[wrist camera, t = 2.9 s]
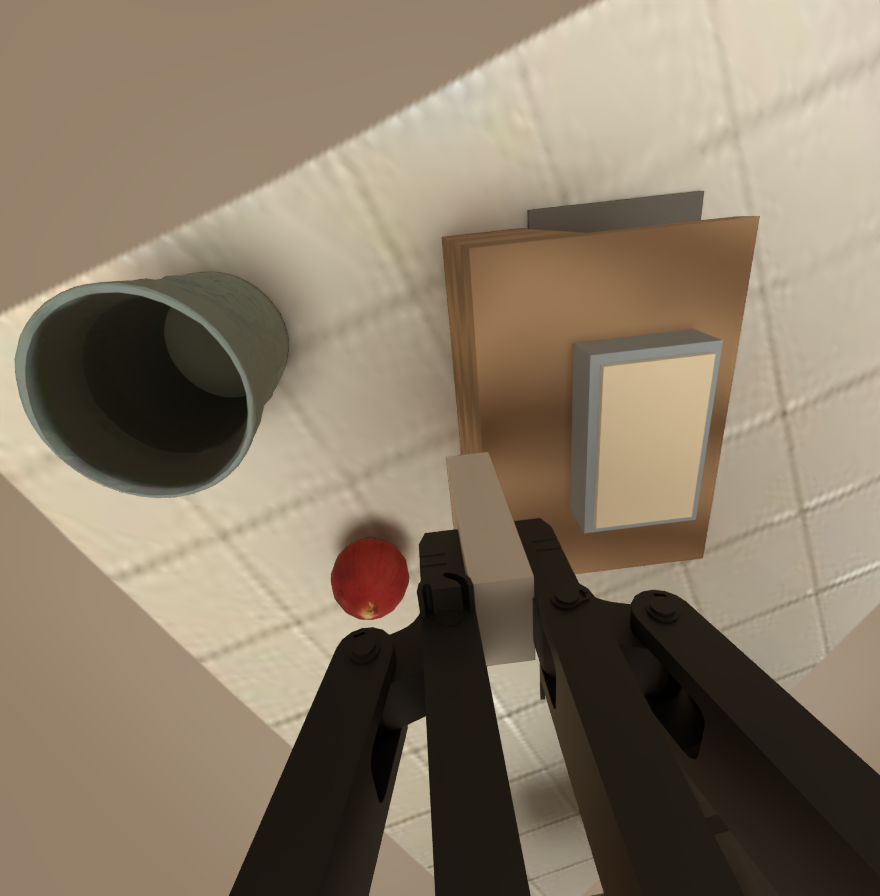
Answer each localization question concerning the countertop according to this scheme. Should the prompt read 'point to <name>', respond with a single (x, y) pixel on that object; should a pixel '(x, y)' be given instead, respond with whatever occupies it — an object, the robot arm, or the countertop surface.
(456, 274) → the brown flat-topped block
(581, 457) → the box
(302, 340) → the countertop surface
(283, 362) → the grey-green tapered bin
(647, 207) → the mat
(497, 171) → the countertop surface
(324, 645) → the countertop surface
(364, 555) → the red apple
